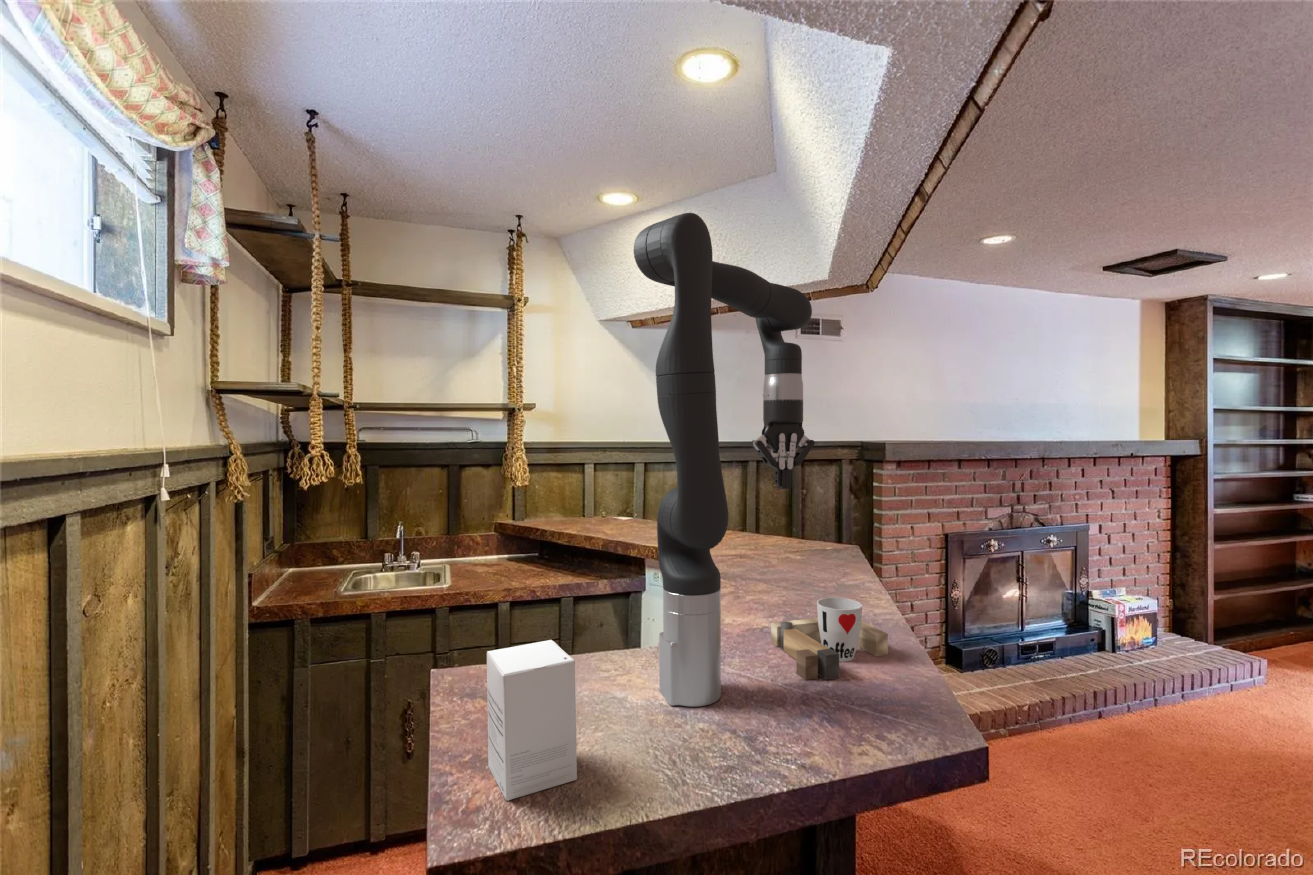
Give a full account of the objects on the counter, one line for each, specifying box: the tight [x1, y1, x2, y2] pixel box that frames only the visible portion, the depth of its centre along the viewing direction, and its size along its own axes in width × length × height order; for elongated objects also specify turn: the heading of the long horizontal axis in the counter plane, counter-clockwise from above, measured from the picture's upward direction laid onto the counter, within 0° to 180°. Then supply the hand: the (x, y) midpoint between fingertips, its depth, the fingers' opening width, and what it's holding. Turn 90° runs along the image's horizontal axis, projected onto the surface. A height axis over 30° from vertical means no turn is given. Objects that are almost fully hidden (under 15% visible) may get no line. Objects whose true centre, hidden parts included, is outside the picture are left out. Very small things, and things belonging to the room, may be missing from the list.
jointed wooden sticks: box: [770, 617, 889, 681], centre depth 117 cm, size 21×18×4 cm
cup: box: [816, 597, 863, 663], centre depth 116 cm, size 8×8×10 cm
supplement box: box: [486, 639, 578, 801], centre depth 78 cm, size 9×9×15 cm
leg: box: [780, 621, 840, 680], centre depth 114 cm, size 3×16×5 cm, turn 18°
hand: (783, 488), depth 120 cm, fingers closed
